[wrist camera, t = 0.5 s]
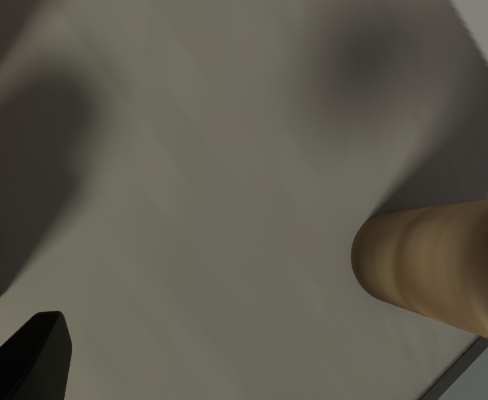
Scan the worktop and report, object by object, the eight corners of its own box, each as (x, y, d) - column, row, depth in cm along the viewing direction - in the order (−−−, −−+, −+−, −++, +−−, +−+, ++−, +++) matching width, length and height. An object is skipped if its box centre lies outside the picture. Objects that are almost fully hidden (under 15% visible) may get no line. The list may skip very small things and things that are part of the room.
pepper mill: (455, 260, 23) (758, 288, 11) (393, 322, 23) (635, 431, 10) (396, 194, 24) (626, 140, 11) (332, 253, 23) (495, 273, 10)
